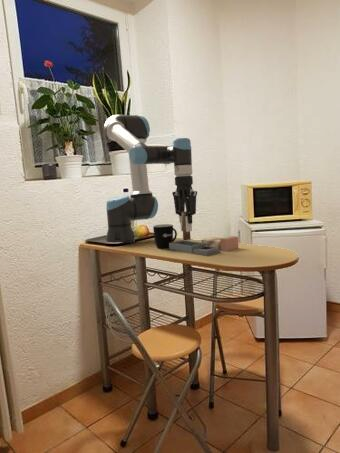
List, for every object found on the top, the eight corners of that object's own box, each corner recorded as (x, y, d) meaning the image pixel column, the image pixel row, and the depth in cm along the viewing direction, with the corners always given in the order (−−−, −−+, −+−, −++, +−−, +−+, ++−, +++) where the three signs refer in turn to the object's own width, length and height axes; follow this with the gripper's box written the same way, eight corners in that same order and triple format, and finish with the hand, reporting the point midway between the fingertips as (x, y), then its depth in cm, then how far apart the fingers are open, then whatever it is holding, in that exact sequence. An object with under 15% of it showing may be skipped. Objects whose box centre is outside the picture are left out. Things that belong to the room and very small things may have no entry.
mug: (162, 250, 158) (161, 227, 157) (150, 247, 165) (149, 226, 164) (183, 246, 165) (182, 224, 164) (171, 244, 172) (170, 223, 171)
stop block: (220, 250, 150) (220, 238, 150) (233, 247, 155) (232, 236, 155) (226, 251, 148) (225, 239, 147) (238, 248, 153) (238, 236, 152)
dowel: (181, 239, 155) (180, 212, 154) (187, 238, 157) (185, 211, 156) (186, 240, 153) (185, 212, 151) (192, 239, 155) (190, 211, 153)
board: (202, 248, 158) (201, 239, 158) (214, 245, 163) (214, 237, 163) (219, 251, 151) (218, 241, 150) (231, 248, 156) (231, 239, 155)
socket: (192, 253, 147) (192, 248, 147) (206, 250, 152) (205, 245, 152) (206, 255, 141) (206, 250, 141) (220, 252, 146) (220, 247, 146)
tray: (169, 249, 158) (168, 242, 158) (183, 246, 164) (182, 240, 163) (191, 253, 148) (191, 246, 147) (205, 250, 153) (205, 243, 152)
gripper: (164, 177, 155) (167, 230, 158) (190, 175, 143) (193, 233, 146) (177, 176, 160) (180, 228, 163) (203, 174, 148) (205, 231, 151)
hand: (186, 230), depth 154 cm, fingers closed on dowel, 3 cm apart
